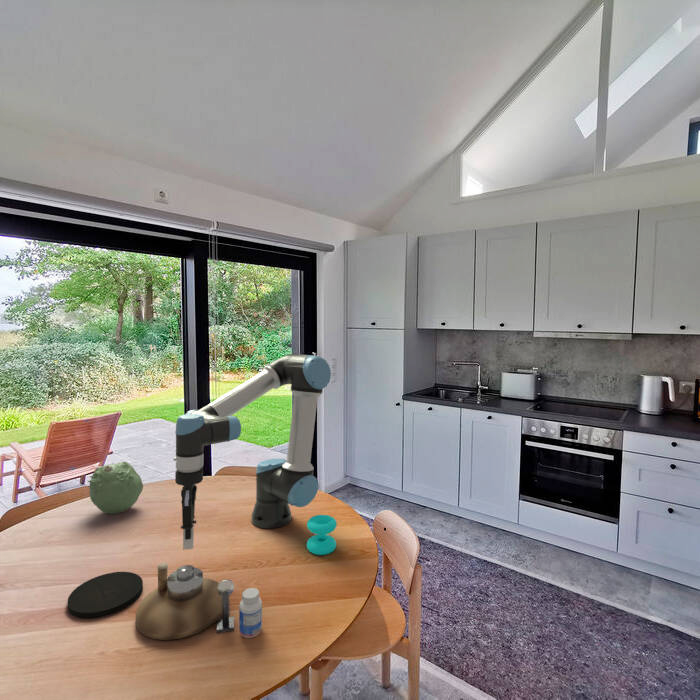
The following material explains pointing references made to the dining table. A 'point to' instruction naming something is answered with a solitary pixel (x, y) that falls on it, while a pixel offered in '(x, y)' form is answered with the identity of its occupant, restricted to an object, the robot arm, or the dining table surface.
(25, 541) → the dining table surface
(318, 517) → the donuts
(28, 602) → the dining table surface
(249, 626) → the pill bottle
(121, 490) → the cabbage
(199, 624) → the turntable
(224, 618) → the dial post
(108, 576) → the wireless charger
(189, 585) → the cover
